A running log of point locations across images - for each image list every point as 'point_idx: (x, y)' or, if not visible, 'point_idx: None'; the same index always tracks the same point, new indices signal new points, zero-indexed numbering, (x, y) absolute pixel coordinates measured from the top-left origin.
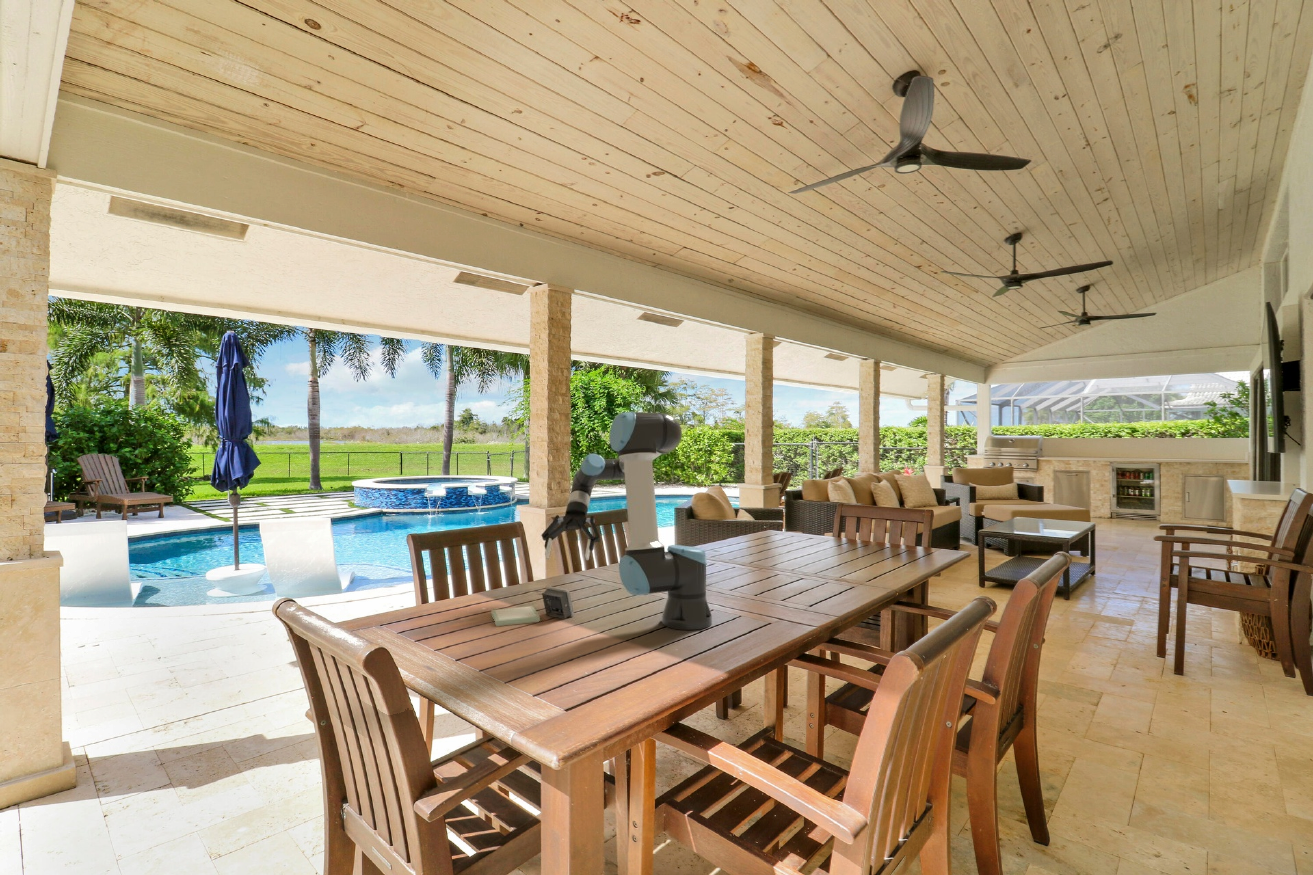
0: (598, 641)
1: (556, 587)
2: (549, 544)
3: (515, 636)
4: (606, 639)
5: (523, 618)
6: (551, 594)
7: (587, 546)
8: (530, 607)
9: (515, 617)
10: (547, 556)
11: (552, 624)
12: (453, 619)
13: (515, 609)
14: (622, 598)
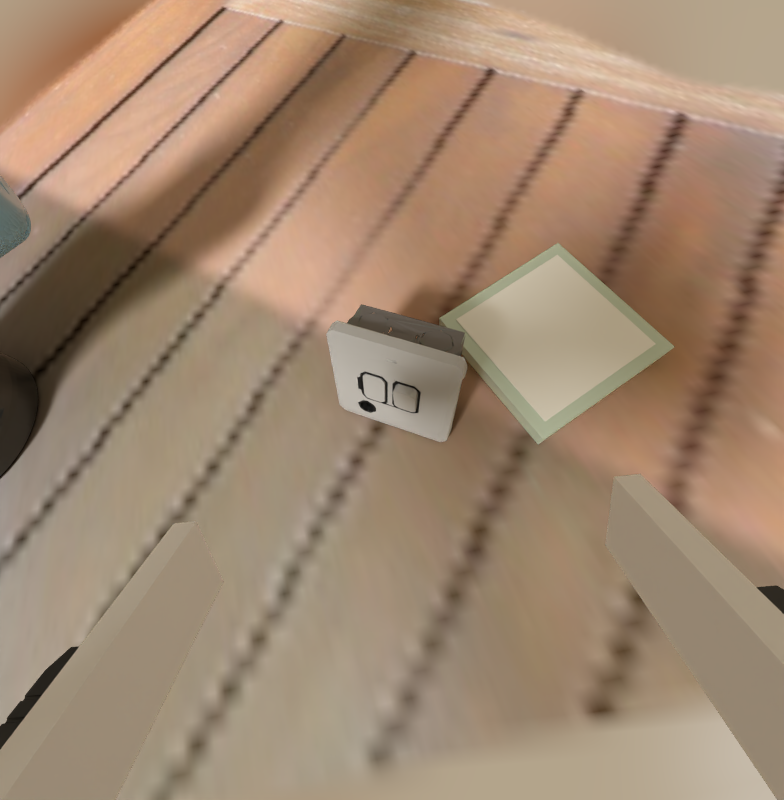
0: (218, 227)
1: (401, 350)
2: (722, 595)
3: (444, 202)
4: (200, 243)
5: (485, 289)
6: (410, 322)
7: (110, 631)
8: (537, 415)
9: (517, 286)
10: (614, 510)
11: None
12: (753, 276)
13: (579, 370)
14: (184, 769)
